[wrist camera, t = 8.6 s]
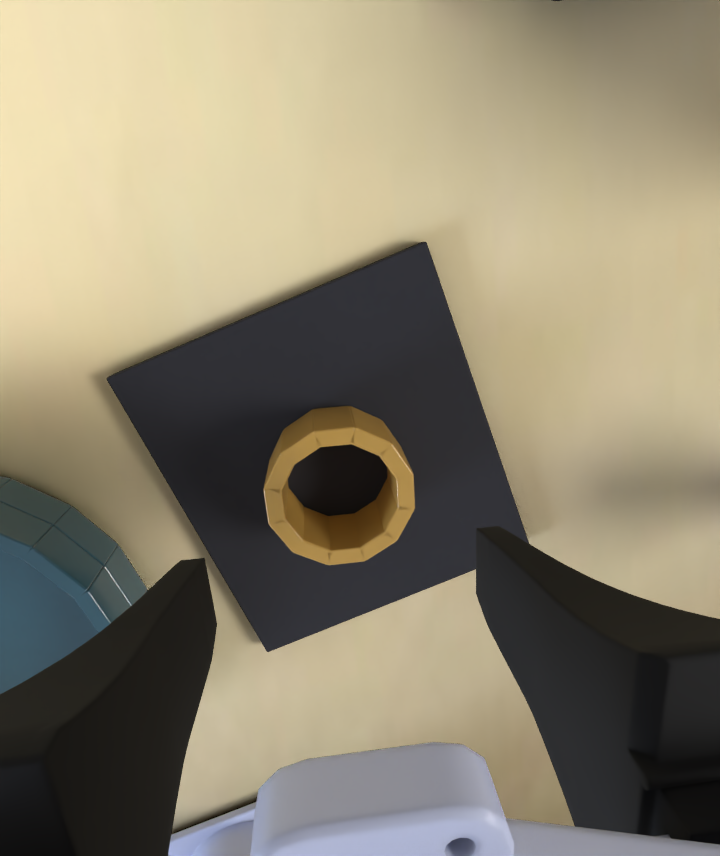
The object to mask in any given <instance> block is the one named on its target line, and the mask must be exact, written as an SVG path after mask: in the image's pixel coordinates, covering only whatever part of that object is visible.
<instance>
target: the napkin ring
mask: <svg viewBox="0 0 720 856" xmlns="http://www.w3.org/2000/svg"><path fill="white" fill-rule="evenodd" d="M349 444H352V445H354V446H357V447H359V448H361V449H364V450H366V451H368V452H371V453H373V454H375V455H378V456H380V458H381V459H382V461H383V462H384V463H385V465H386V466H387V479H386V481H385V483H384V485H383V487H382V489H381V491H380V493H379V494H378V496H377V498H376V500H374V501H373V502H371V503H370V504H368V505H367V506H365V507H364V508H362V509H360V510H359V511H357V512H356V513H353V514H343V515H334V516H326V515H324V514H321V513H319V512H316V511H314V510H311V509H309V508H306V507H304V506H303V505H302V503H301V502H300V501H299V500H298V498H297V497H296V496H295V495H294V494H293V492H292V491H291V490H290V489H289V486H288V477H289V475H290V473H291V471H292V469H293V467H294V465H295V464H296V463H298V462H299V461H301V460H302V459H304V458H305V457H307V456H308V455H310V454H311V453H313V452H314V451H316V450H317V449H319V448H320V447H328V446H339V445H349ZM263 490H264V497H265V504H266V511H267V518H268V524H269V525H270V527H271V528H272V529H273V530H274V531H275V532H276V534H277V535H278V536H279V537H280V538H281V539H282V541H283V542H284V543H285V544H286V545H287V547H288V548H289V549H290V550H291V551H292V552H294V553H296V554H298V555H301V556H304V557H306V558H309V559H312V560H315V561H317V562H320V563H323V564H326V565H336V564H345V563H354V562H363V561H365V560H368V559H370V558H371V557H373V556H374V555H376V554H377V553H379V552H381V551H382V550H384V549H385V548H387V547H388V546H390V545H391V544H393V543H395V542H396V541H397V540H398V538H399V537H400V535H401V533H402V531H403V529H404V528H405V526H406V524H407V522H408V520H409V519H410V517H411V515H412V513H413V511H414V509H415V497H414V474H413V472H412V470H411V467H410V465H409V463H408V461H407V459H406V457H405V454H404V452H403V450H402V448H401V446H400V444H399V443H398V442H397V440H396V439H395V437H394V436H393V435H392V433H391V432H390V430H389V429H388V427H387V426H386V425H385V423H384V422H383V421H382V420H381V419H379V418H377V417H374V416H372V415H370V414H368V413H365V412H363V411H361V410H359V409H356V408H354V407H352V406H340V407H329V408H318V409H314V410H313V409H312V410H311V411H309V412H308V413H306V414H305V415H303V416H302V417H300V418H299V419H298V420H296V421H295V422H293V423H292V424H290V425H289V426H287V427H286V428H284V430H283V431H282V433H281V435H280V438H279V440H278V442H277V444H276V446H275V448H274V451H273V453H272V455H271V457H270V460H269V465H268V469H267V474H266V479H265V484H264V489H263Z"/></svg>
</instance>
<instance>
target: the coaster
mask: <svg viewBox="0 0 720 856" xmlns="http://www.w3.org/2000/svg"><path fill="white" fill-rule="evenodd" d="M107 381H108V383H109V384H110V386H111V388H112V389H113V391H114V393H115V394H116V396H117V398H118V399H119V401H120V403H121V405H122V406H123V408H124V410H125V411H126V413H127V415H128V416H129V418H130V420H131V422H132V423H133V425H134V427H135V428H136V430H137V432H138V433H139V435H140V437H141V439H142V440H143V442H144V444H145V445H146V447H147V449H148V450H149V452H150V454H151V456H152V457H153V459H154V461H155V462H156V464H157V466H158V467H159V469H160V471H161V472H162V474H163V476H164V478H165V479H166V481H167V483H168V484H169V486H170V488H171V489H172V491H173V493H174V495H175V496H176V498H177V500H178V501H179V503H180V505H181V506H182V508H183V510H184V512H185V513H186V515H187V517H188V518H189V520H190V522H191V523H192V525H193V527H194V529H195V530H196V532H197V534H198V535H199V537H200V539H201V540H202V542H203V544H204V545H205V547H206V549H207V551H208V552H209V554H210V556H211V557H212V559H213V561H214V562H215V564H216V566H217V568H218V569H219V571H220V573H221V574H222V576H223V578H224V579H225V581H226V583H227V585H228V586H229V588H230V590H231V591H232V593H233V595H234V596H235V598H236V600H237V602H238V603H239V605H240V607H241V608H242V610H243V612H244V613H245V615H246V617H247V618H248V620H249V622H250V624H251V625H252V627H253V629H254V630H255V632H256V634H257V635H258V637H259V639H260V641H261V642H262V644H263V646H264V647H265V649H266V651H267V652H269V651H272V650H274V649H277V648H279V647H282V646H284V645H287V644H289V643H292V642H294V641H297V640H299V639H302V638H304V637H307V636H309V635H312V634H314V633H317V632H319V631H322V630H325V629H327V628H330V627H332V626H335V625H337V624H340V623H342V622H345V621H347V620H350V619H352V618H355V617H357V616H360V615H362V614H365V613H367V612H370V611H372V610H375V609H377V608H380V607H382V606H385V605H387V604H390V603H392V602H395V601H397V600H400V599H402V598H405V597H407V596H410V595H412V594H415V593H417V592H420V591H422V590H425V589H427V588H430V587H432V586H435V585H437V584H440V583H442V582H445V581H447V580H450V579H452V578H455V577H457V576H460V575H462V574H465V573H467V572H470V571H472V570H475V569H476V528H484V527H493V526H500V527H501V528H503V529H505V530H507V531H509V532H510V533H512V534H514V535H515V536H517V537H519V538H520V539H522V540H523V541H525V542H527V543H528V544H529V542H528V539H527V536H526V533H525V530H524V527H523V524H522V521H521V518H520V515H519V513H518V510H517V507H516V504H515V501H514V498H513V495H512V492H511V489H510V486H509V483H508V480H507V477H506V474H505V471H504V468H503V466H502V463H501V460H500V457H499V454H498V451H497V448H496V445H495V442H494V439H493V436H492V433H491V430H490V427H489V424H488V422H487V419H486V416H485V413H484V410H483V407H482V404H481V401H480V398H479V395H478V392H477V389H476V386H475V383H474V380H473V377H472V375H471V372H470V369H469V366H468V363H467V360H466V357H465V354H464V351H463V348H462V345H461V342H460V339H459V336H458V333H457V330H456V328H455V325H454V322H453V319H452V316H451V313H450V310H449V307H448V304H447V301H446V298H445V295H444V292H443V289H442V286H441V283H440V281H439V278H438V275H437V272H436V269H435V266H434V263H433V260H432V257H431V254H430V251H429V248H428V245H427V243H426V242H421V243H418V244H416V245H414V246H411V247H409V248H407V249H404V250H402V251H400V252H397V253H395V254H393V255H390V256H388V257H386V258H383V259H381V260H379V261H376V262H374V263H372V264H369V265H367V266H365V267H362V268H360V269H358V270H355V271H353V272H351V273H348V274H346V275H344V276H341V277H339V278H337V279H334V280H332V281H330V282H327V283H325V284H323V285H320V286H318V287H316V288H313V289H311V290H309V291H306V292H304V293H302V294H299V295H297V296H295V297H292V298H290V299H288V300H285V301H283V302H281V303H278V304H276V305H274V306H271V307H269V308H267V309H264V310H262V311H260V312H257V313H255V314H253V315H250V316H248V317H246V318H243V319H241V320H239V321H236V322H234V323H232V324H229V325H227V326H225V327H222V328H220V329H218V330H215V331H213V332H211V333H208V334H206V335H204V336H201V337H199V338H197V339H194V340H192V341H190V342H187V343H185V344H183V345H180V346H178V347H176V348H173V349H171V350H169V351H166V352H164V353H162V354H159V355H157V356H155V357H152V358H150V359H148V360H145V361H143V362H141V363H138V364H136V365H134V366H131V367H129V368H127V369H124V370H122V371H120V372H117V373H115V374H113V375H111V376H109V377H108V378H107ZM340 406H352V407H354V408H356V409H359V410H361V411H363V412H365V413H368V414H370V415H372V416H374V417H377V418H379V419H381V420H382V421H383V422H384V423H385V425H386V426H387V427H388V429H389V430H390V432H391V433H392V435H393V436H394V437H395V439H396V440H397V442H398V443H399V444H400V446H401V448H402V450H403V452H404V454H405V457H406V459H407V461H408V463H409V465H410V467H411V470H412V472H413V474H414V497H415V509H414V511H413V513H412V515H411V517H410V519H409V520H408V522H407V524H406V526H405V528H404V529H403V531H402V533H401V535H400V537H399V538H398V540H397V541H396V542H395V543H393V544H391V545H390V546H388V547H387V548H385V549H384V550H382V551H381V552H379V553H377V554H376V555H374V556H373V557H371V558H370V559H368V560H365V561H363V562H354V563H345V564H336V565H326V564H323V563H320V562H317V561H315V560H312V559H309V558H306V557H304V556H301V555H298V554H296V553H294V552H292V551H291V550H290V549H289V548H288V547H287V545H286V544H285V543H284V542H283V541H282V539H281V538H280V537H279V536H278V535H277V534H276V532H275V531H274V530H273V529H272V528H271V527H270V525H269V524H268V518H267V511H266V504H265V497H264V490H263V489H264V484H265V479H266V474H267V469H268V465H269V460H270V457H271V455H272V453H273V451H274V448H275V446H276V444H277V442H278V440H279V438H280V435H281V433H282V431H283V430H284V428H286V427H287V426H289V425H290V424H292V423H293V422H295V421H296V420H298V419H299V418H300V417H302V416H303V415H305V414H306V413H308V412H309V411H311V410H312V409H313V410H314V409H318V408H329V407H340ZM386 479H387V466H386V465H385V463H384V462H383V461H382V459H381V458H380V456H378V455H375V454H373V453H371V452H368V451H366V450H364V449H361V448H359V447H357V446H354V445H352V444H349V445H339V446H328V447H320V448H319V449H317V450H316V451H314V452H313V453H311V454H310V455H308V456H307V457H305V458H304V459H302V460H301V461H299V462H298V463H296V464H295V465H294V467H293V469H292V471H291V473H290V475H289V477H288V486H289V489H290V490H291V491H292V492H293V494H294V495H295V496H296V497H297V498H298V500H299V501H300V502H301V503H302V505H303V506H304V507H306V508H309V509H311V510H314V511H316V512H319V513H321V514H324V515H326V516H334V515H343V514H353V513H356V512H357V511H359V510H360V509H362V508H364V507H365V506H367V505H368V504H370V503H371V502H373V501H374V500H376V498H377V496H378V494H379V493H380V491H381V489H382V487H383V485H384V483H385V481H386Z"/></svg>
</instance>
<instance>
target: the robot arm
mask: <svg viewBox="0 0 720 856" xmlns="http://www.w3.org/2000/svg"><path fill="white" fill-rule="evenodd" d="M476 594H477V597H478V600H479V603H480V606H481V609H482V612H483V614H484V617H485V620H486V622H487V625H488V627H489V629H490V631H491V633H492V635H493V637H494V639H495V641H496V643H497V645H498V647H499V649H500V651H501V653H502V655H503V656H504V658H505V660H506V662H507V664H508V666H509V668H510V670H511V672H512V674H513V676H514V677H515V679H516V681H517V683H518V685H519V687H520V689H521V691H522V693H523V695H524V697H525V699H526V701H527V703H528V705H529V707H530V709H531V711H532V713H533V716H534V718H535V721H536V723H537V726H538V728H539V731H540V733H541V736H542V738H543V741H544V743H545V746H546V749H547V751H548V754H549V756H550V759H551V762H552V764H553V767H554V770H555V772H556V775H557V778H558V780H559V783H560V786H561V788H562V791H563V794H564V796H565V799H566V802H567V805H568V808H569V811H570V813H571V816H572V819H573V822H574V825H575V826H567V825H559V824H551V823H542V822H534V821H526V820H518V819H510V818H505V815H504V812H503V809H502V807H501V804H500V801H499V798H498V795H497V792H496V789H495V786H494V783H493V781H492V778H491V775H490V772H489V769H488V767H487V764H486V761H485V758H484V757H482V756H481V755H479V754H477V753H476V752H474V751H473V750H471V749H470V748H468V747H466V746H465V745H462V744H454V743H441V742H430V743H422V744H415V745H407V746H400V747H392V748H385V749H377V750H370V751H363V752H355V753H348V754H340V755H333V756H325V757H318V758H310V759H306V760H303V761H300V762H297V763H294V764H291V765H288V766H285V767H282V768H280V769H278V770H277V771H276V772H275V773H274V774H273V775H272V776H271V777H270V778H269V779H268V780H267V781H266V782H265V783H264V784H263V785H262V786H261V787H260V788H259V791H258V796H257V802H255V803H252V804H249V805H247V806H244V807H242V808H239V809H236V810H234V811H231V812H229V813H226V814H223V815H221V816H218V817H216V818H213V819H211V820H208V821H205V822H203V823H200V824H198V825H195V826H192V827H190V828H187V829H185V830H182V831H179V832H177V833H174V834H172V835H171V833H172V827H173V821H174V814H175V808H176V802H177V796H178V791H179V785H180V780H181V774H182V769H183V763H184V758H185V754H186V750H187V746H188V742H189V738H190V735H191V731H192V728H193V724H194V721H195V717H196V714H197V710H198V707H199V703H200V700H201V696H202V693H203V689H204V686H205V682H206V679H207V675H208V672H209V668H210V664H211V661H212V655H213V649H214V642H215V634H216V627H217V622H216V616H215V611H214V606H213V600H212V595H211V590H210V584H209V579H208V574H207V568H206V563H205V558H200V559H191V560H181V561H180V562H179V563H177V564H176V565H175V566H174V567H173V568H172V569H171V570H170V571H168V572H167V573H166V574H165V575H164V576H163V577H162V578H161V579H160V580H159V581H158V582H157V583H156V584H155V585H154V586H153V587H151V588H150V589H149V590H148V591H147V592H146V593H145V594H144V595H143V596H142V597H141V598H140V599H138V600H137V601H136V602H135V603H134V604H133V605H132V606H131V607H129V608H128V609H127V610H126V611H125V612H123V613H122V614H121V615H120V616H119V617H117V618H116V619H115V620H114V621H113V622H112V623H110V624H109V625H108V626H107V627H106V628H104V629H103V630H102V631H100V632H99V633H98V634H97V635H95V636H94V637H93V638H91V639H90V640H88V641H87V642H86V643H84V644H83V645H81V646H80V647H79V648H77V649H76V650H74V651H73V652H71V653H70V654H68V655H67V656H65V657H64V658H62V659H61V660H59V661H57V662H56V663H54V664H52V665H51V666H49V667H47V668H46V669H44V670H42V671H41V672H39V673H38V674H36V675H34V676H33V677H31V678H29V679H28V680H26V681H24V682H22V683H20V684H19V685H17V686H15V687H13V688H11V689H9V690H7V691H5V692H4V693H2V694H0V856H720V619H716V618H712V617H707V616H703V615H699V614H695V613H691V612H687V611H683V610H679V609H675V608H672V607H668V606H665V605H661V604H658V603H655V602H652V601H649V600H646V599H643V598H640V597H637V596H634V595H631V594H629V593H626V592H623V591H621V590H618V589H616V588H613V587H611V586H609V585H606V584H604V583H601V582H599V581H597V580H595V579H592V578H590V577H588V576H586V575H584V574H582V573H580V572H578V571H576V570H574V569H572V568H570V567H568V566H566V565H564V564H563V563H561V562H559V561H557V560H555V559H554V558H552V557H550V556H548V555H547V554H545V553H543V552H542V551H540V550H538V549H537V548H535V547H533V546H532V545H530V544H528V543H527V542H525V541H523V540H522V539H520V538H519V537H517V536H515V535H514V534H512V533H510V532H509V531H507V530H505V529H503V528H501V527H500V526H493V527H484V528H476Z"/></svg>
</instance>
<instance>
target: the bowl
mask: <svg viewBox="0 0 720 856" xmlns="http://www.w3.org/2000/svg"><path fill="white" fill-rule="evenodd" d="M147 591H148V590H147V587H146V586H145V584H144V583H143V581H142V580H141V578H140V577H139V575H138V574H137V572H136V571H135V569H134V568H133V566H132V564H131V563H130V561H129V560H128V558H127V557H126V555H125V554H124V552H123V551H122V549H121V548H120V546H119V545H118V544H117V543H116V542H115V541H114V540H113V539H112V538H110V537H109V536H108V535H107V534H106V533H104V532H103V531H102V530H101V529H99V528H98V527H97V526H96V525H95V524H93V523H92V522H91V521H90V520H89V519H87V518H86V517H85V516H84V515H83V514H81V513H80V512H79V511H78V510H77V509H75V508H74V507H73V506H71V505H69V504H67V503H65V502H63V501H60V500H58V499H56V498H54V497H52V496H50V495H47V494H45V493H43V492H41V491H39V490H36V489H34V488H32V487H30V486H28V485H25V484H23V483H21V482H19V481H17V480H14V479H11V478H8V477H2V476H0V694H2V693H4V692H5V691H7V690H9V689H11V688H13V687H15V686H17V685H19V684H20V683H22V682H24V681H26V680H28V679H29V678H31V677H33V676H34V675H36V674H38V673H39V672H41V671H42V670H44V669H46V668H47V667H49V666H51V665H52V664H54V663H56V662H57V661H59V660H61V659H62V658H64V657H65V656H67V655H68V654H70V653H71V652H73V651H74V650H76V649H77V648H79V647H80V646H81V645H83V644H84V643H86V642H87V641H88V640H90V639H91V638H93V637H94V636H95V635H97V634H98V633H99V632H100V631H102V630H103V629H104V628H106V627H107V626H108V625H109V624H110V623H112V622H113V621H114V620H115V619H116V618H117V617H119V616H120V615H121V614H122V613H123V612H125V611H126V610H127V609H128V608H129V607H131V606H132V605H133V604H134V603H135V602H136V601H137V600H138V599H140V598H141V597H142V596H143V595H144V594H145V593H146V592H147Z"/></svg>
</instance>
